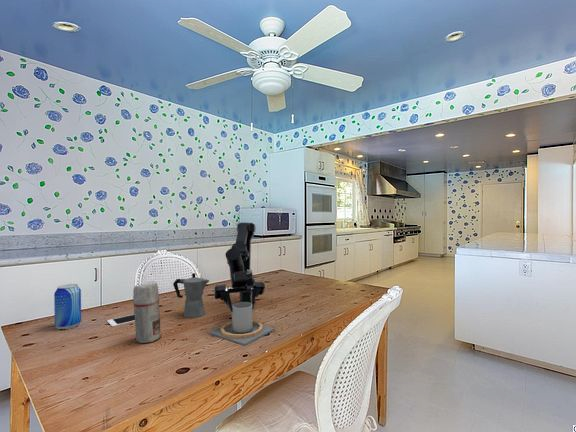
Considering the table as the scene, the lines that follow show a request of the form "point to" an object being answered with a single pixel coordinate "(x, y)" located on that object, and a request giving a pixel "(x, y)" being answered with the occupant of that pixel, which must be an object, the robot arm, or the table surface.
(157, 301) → the spray can
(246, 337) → the collar mat
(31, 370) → the table surface
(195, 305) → the coffeepot
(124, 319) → the cell phone
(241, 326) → the cup
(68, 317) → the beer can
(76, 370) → the table surface
